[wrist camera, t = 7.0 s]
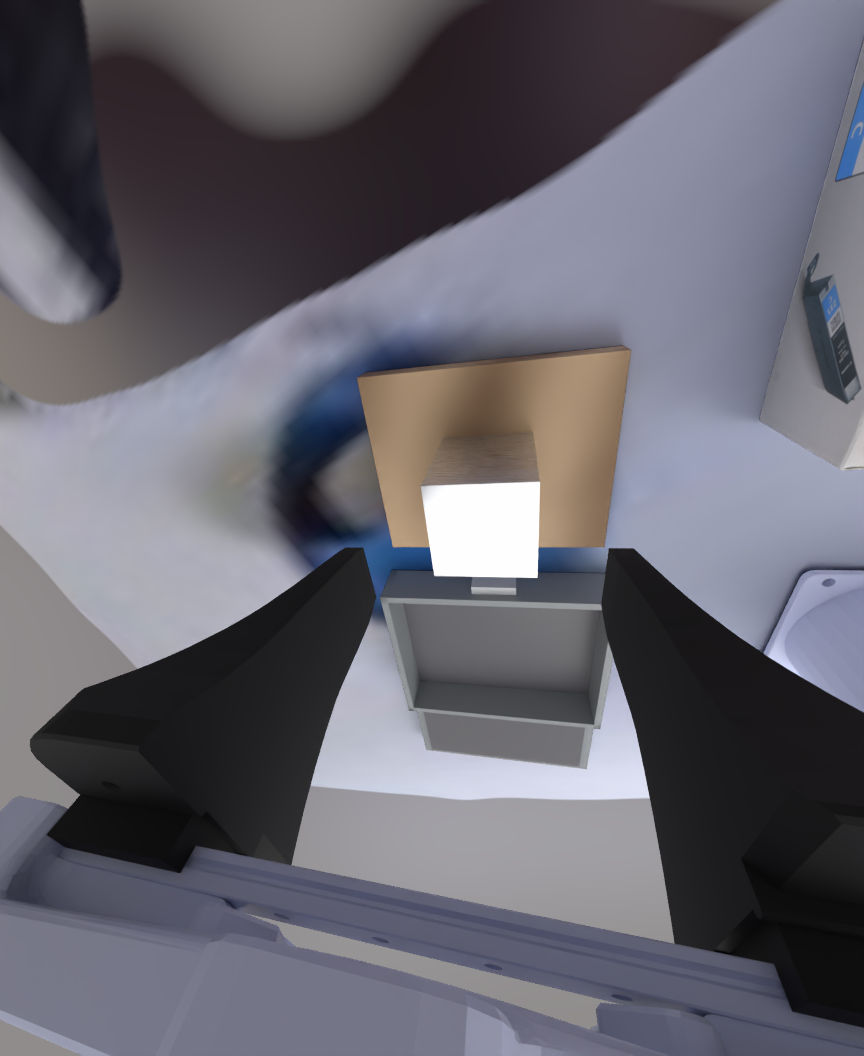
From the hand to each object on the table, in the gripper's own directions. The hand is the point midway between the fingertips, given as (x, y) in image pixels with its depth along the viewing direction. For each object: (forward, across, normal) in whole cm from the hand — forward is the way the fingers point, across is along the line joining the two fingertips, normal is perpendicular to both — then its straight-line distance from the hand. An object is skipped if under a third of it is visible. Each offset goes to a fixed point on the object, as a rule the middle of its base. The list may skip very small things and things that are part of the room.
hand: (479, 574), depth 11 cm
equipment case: (+9, 0, +16) cm, 18 cm away
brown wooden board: (+9, 0, 0) cm, 9 cm away
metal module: (+8, 0, 0) cm, 8 cm away
